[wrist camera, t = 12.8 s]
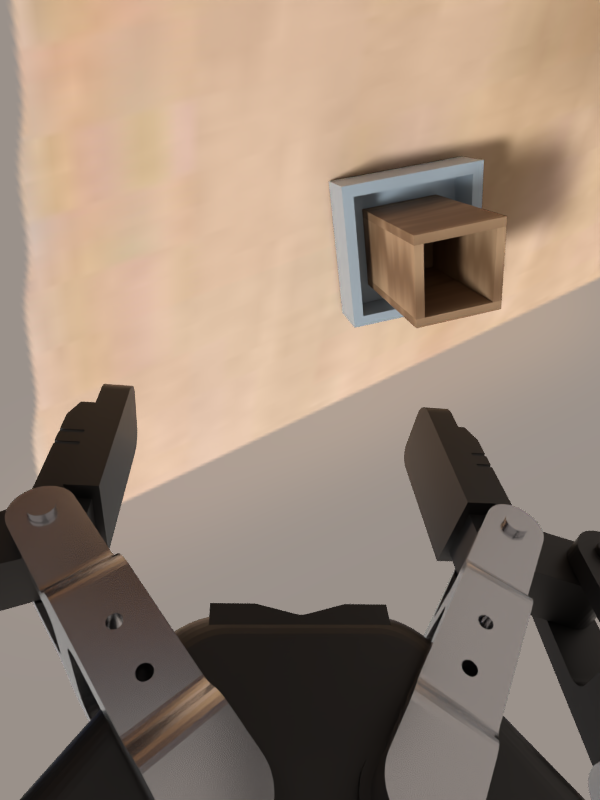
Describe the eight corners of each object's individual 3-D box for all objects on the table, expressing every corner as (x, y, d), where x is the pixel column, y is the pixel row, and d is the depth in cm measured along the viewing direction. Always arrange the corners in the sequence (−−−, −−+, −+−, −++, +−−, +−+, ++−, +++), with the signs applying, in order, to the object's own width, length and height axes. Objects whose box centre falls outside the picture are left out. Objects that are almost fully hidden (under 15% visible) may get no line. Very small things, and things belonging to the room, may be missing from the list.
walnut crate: (362, 209, 38) (413, 235, 30) (435, 194, 39) (507, 216, 30) (368, 284, 41) (416, 328, 33) (436, 269, 42) (500, 309, 33)
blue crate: (328, 181, 37) (341, 186, 34) (460, 156, 38) (483, 159, 36) (342, 312, 43) (354, 327, 40) (457, 287, 44) (477, 300, 41)
